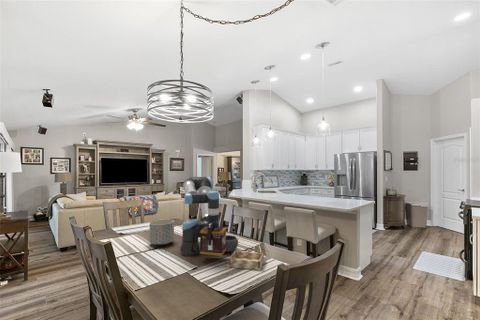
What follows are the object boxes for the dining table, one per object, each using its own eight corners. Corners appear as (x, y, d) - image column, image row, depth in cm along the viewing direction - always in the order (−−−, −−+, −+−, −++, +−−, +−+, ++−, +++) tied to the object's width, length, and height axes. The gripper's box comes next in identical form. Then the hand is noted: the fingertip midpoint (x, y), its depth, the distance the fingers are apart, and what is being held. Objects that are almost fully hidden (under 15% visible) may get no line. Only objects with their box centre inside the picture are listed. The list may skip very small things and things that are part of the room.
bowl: (241, 249, 185) (241, 235, 186) (232, 255, 172) (232, 241, 172) (224, 246, 192) (224, 233, 192) (214, 252, 178) (214, 238, 178)
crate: (228, 266, 153) (228, 258, 153) (235, 258, 167) (235, 250, 167) (259, 270, 148) (259, 261, 148) (263, 260, 162) (263, 253, 162)
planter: (144, 246, 192) (144, 223, 193) (160, 239, 210) (160, 218, 210) (163, 249, 185) (163, 225, 186) (178, 242, 203) (178, 220, 203)
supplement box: (222, 255, 158) (222, 231, 158) (199, 254, 161) (199, 230, 161) (226, 250, 168) (226, 227, 168) (205, 248, 171) (205, 226, 171)
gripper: (212, 218, 152) (212, 253, 152) (224, 211, 174) (224, 241, 174) (201, 217, 154) (201, 252, 154) (214, 210, 176) (214, 240, 176)
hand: (213, 246), depth 164 cm, fingers closed on supplement box, 10 cm apart
